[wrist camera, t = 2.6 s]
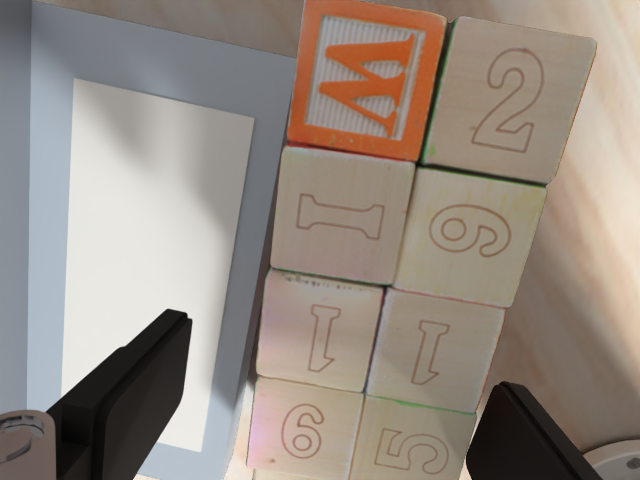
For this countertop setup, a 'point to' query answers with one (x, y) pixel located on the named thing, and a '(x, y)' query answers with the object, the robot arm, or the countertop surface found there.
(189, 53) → the tray
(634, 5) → the countertop surface
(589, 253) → the countertop surface
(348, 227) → the stack of blocks
